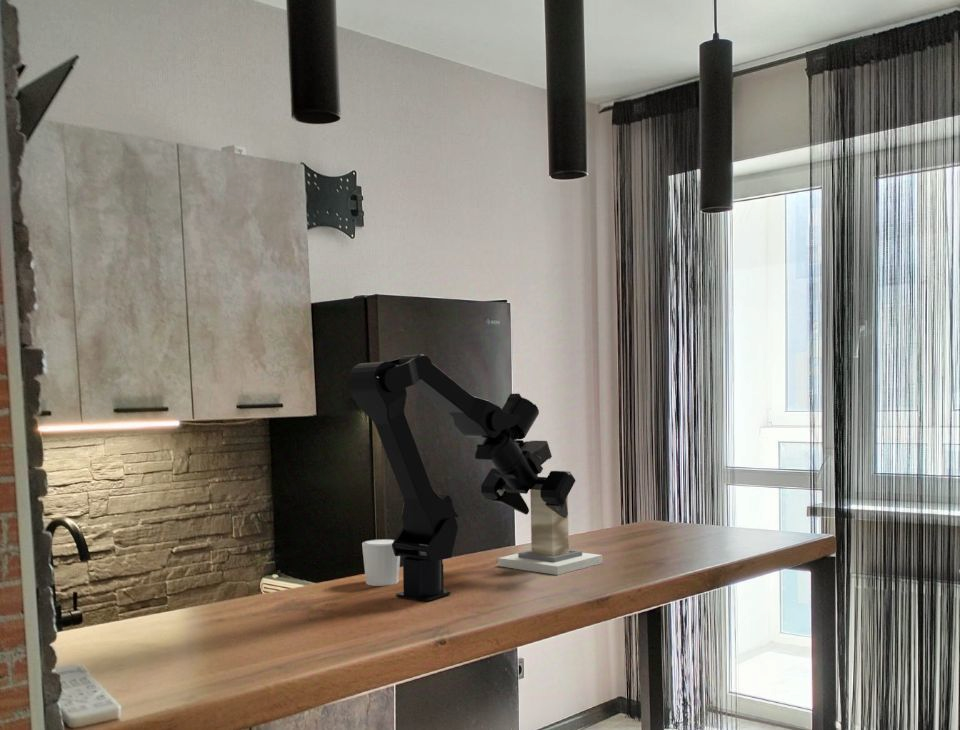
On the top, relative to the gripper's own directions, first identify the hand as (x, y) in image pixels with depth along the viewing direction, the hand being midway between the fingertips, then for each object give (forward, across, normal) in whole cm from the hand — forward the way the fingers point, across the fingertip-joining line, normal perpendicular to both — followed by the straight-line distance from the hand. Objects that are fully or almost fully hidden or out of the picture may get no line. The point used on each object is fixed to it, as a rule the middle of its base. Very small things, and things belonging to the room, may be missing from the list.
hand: (546, 514), depth 159 cm
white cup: (-14, +14, +28) cm, 34 cm away
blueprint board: (+7, 0, +6) cm, 10 cm away
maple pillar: (+6, 0, +5) cm, 8 cm away
